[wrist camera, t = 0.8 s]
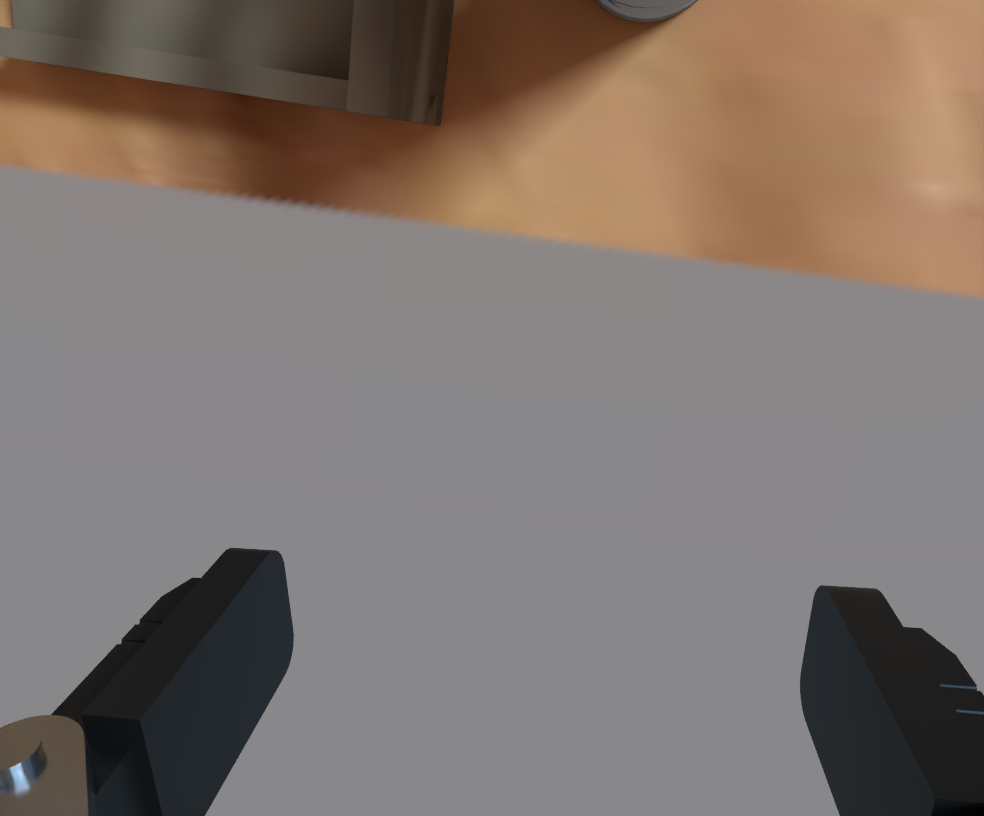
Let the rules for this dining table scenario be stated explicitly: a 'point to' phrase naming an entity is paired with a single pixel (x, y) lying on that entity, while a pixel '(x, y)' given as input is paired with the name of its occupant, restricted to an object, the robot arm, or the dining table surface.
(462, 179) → the dining table surface
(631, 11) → the travel mug
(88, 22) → the shelf
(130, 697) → the robot arm
